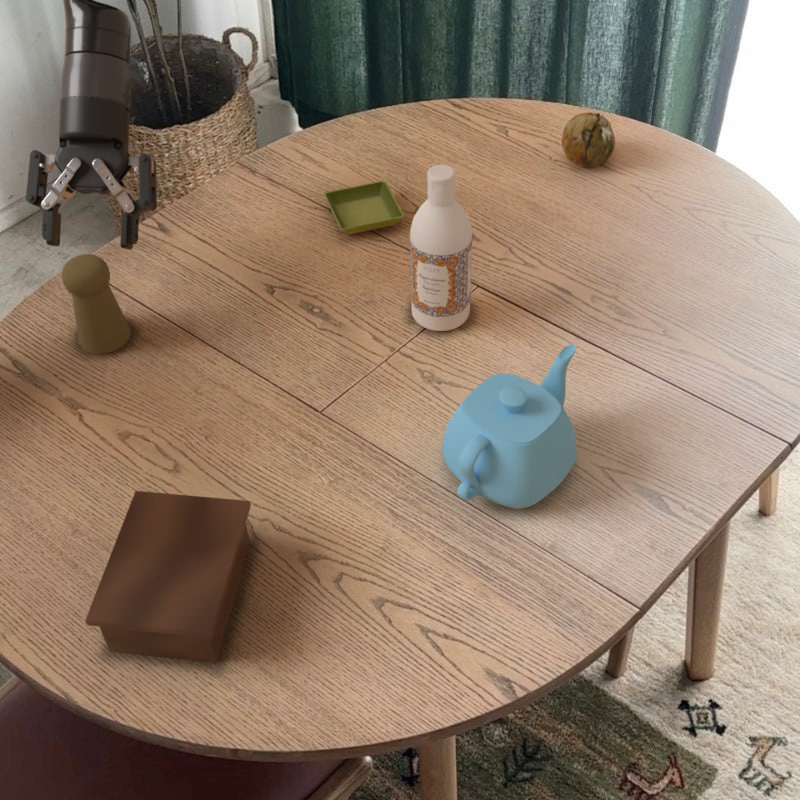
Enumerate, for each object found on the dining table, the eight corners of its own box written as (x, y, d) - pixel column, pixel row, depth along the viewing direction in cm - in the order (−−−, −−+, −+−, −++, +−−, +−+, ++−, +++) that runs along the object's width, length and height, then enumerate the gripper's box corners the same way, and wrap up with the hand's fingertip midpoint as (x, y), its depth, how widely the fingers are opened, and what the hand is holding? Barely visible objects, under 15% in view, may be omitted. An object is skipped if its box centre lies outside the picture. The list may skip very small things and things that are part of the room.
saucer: (386, 192, 144) (385, 179, 142) (406, 229, 138) (405, 216, 136) (324, 205, 142) (322, 192, 140) (341, 243, 136) (340, 230, 135)
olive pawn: (130, 316, 127) (110, 243, 120) (130, 350, 123) (109, 276, 115) (79, 322, 127) (55, 249, 119) (77, 357, 123) (52, 284, 115)
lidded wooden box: (100, 656, 96) (85, 620, 91) (147, 528, 105) (135, 490, 101) (221, 669, 94) (211, 633, 90) (257, 538, 104) (249, 500, 100)
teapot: (626, 367, 104) (516, 476, 95) (613, 439, 112) (510, 546, 103) (523, 313, 110) (410, 410, 101) (517, 385, 118) (412, 481, 109)
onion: (622, 150, 149) (629, 100, 143) (605, 181, 144) (612, 130, 138) (570, 139, 151) (575, 89, 146) (552, 169, 146) (557, 118, 141)
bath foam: (403, 325, 125) (398, 183, 111) (423, 289, 129) (421, 148, 115) (458, 339, 123) (461, 196, 109) (477, 301, 128) (482, 160, 113)
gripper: (19, 91, 116) (13, 240, 116) (146, 94, 114) (140, 245, 115) (48, 108, 123) (42, 248, 124) (167, 112, 122) (161, 253, 122)
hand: (89, 247), depth 119 cm, fingers open, 8 cm apart
